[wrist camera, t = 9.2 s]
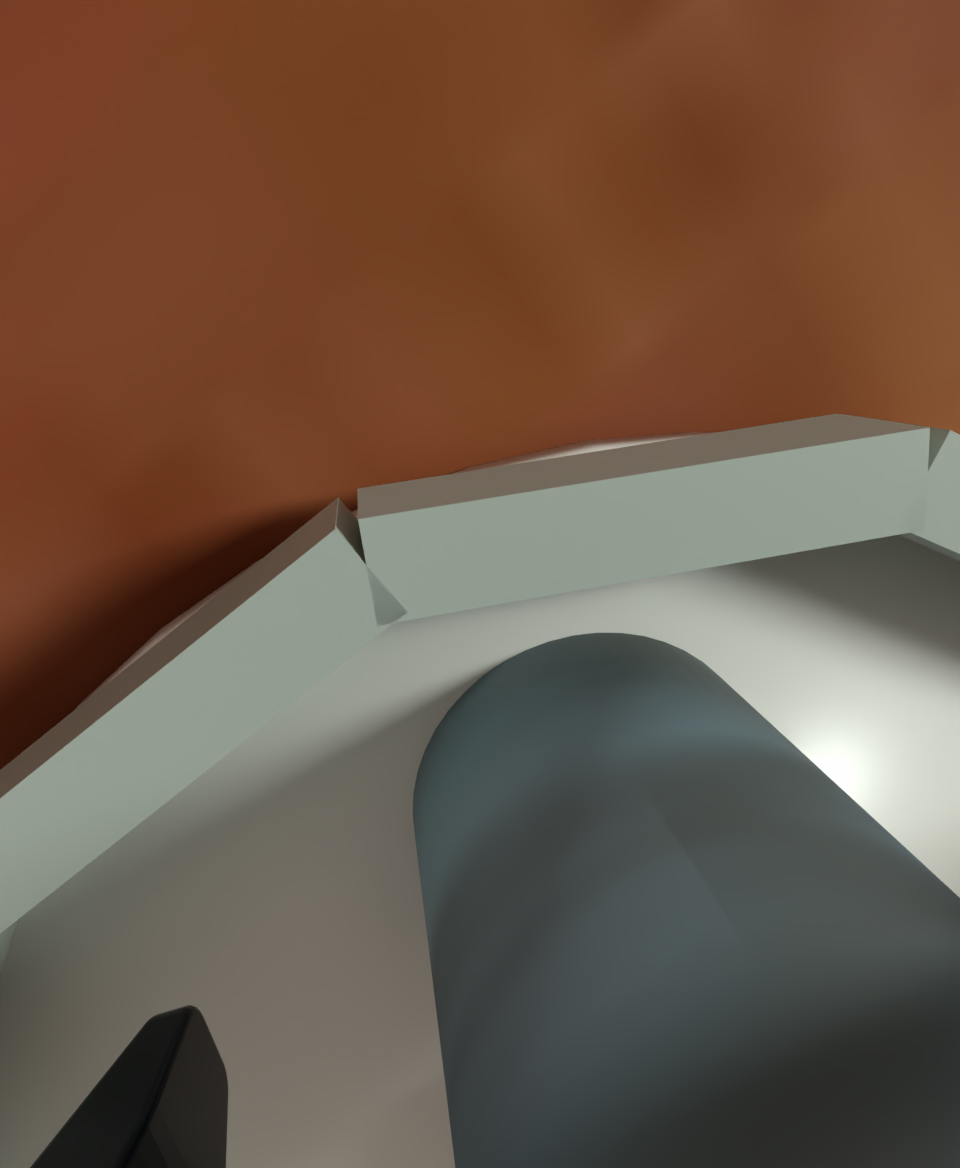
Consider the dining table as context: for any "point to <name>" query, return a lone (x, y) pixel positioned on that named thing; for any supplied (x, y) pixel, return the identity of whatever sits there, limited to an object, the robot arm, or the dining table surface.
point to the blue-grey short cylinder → (673, 932)
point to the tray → (402, 732)
